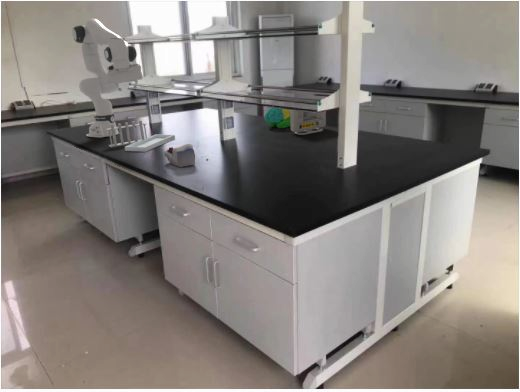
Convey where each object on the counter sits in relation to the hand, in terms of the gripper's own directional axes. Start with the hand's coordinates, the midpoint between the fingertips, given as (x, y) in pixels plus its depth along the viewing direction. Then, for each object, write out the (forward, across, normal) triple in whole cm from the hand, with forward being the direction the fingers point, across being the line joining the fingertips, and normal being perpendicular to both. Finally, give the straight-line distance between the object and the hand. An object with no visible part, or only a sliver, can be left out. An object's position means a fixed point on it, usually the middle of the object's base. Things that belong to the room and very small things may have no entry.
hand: (127, 89), depth 253 cm
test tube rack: (+32, +9, -10) cm, 35 cm away
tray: (+34, -6, -2) cm, 35 cm away
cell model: (+43, -32, +45) cm, 70 cm away
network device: (+43, -104, -14) cm, 114 cm away
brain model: (+39, -88, -35) cm, 102 cm away
